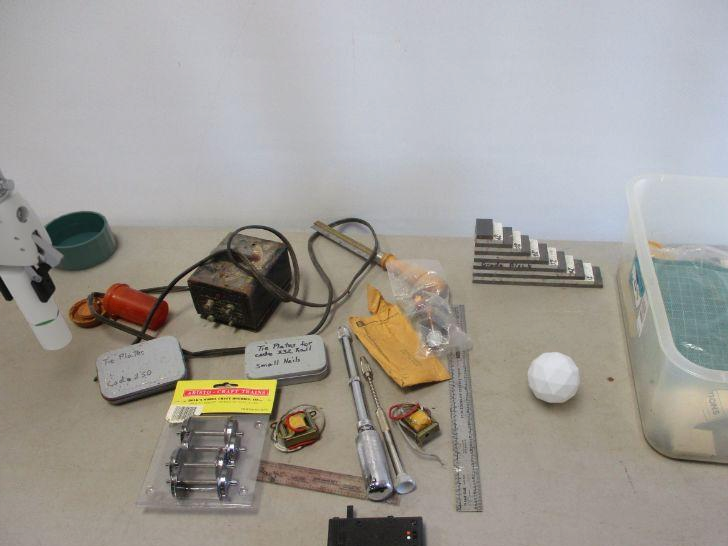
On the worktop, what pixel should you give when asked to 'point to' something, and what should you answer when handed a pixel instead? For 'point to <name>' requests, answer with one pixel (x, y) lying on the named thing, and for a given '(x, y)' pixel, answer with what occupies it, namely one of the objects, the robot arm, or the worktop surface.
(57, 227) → the bowl
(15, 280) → the tube
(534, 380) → the ball
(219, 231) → the worktop surface
